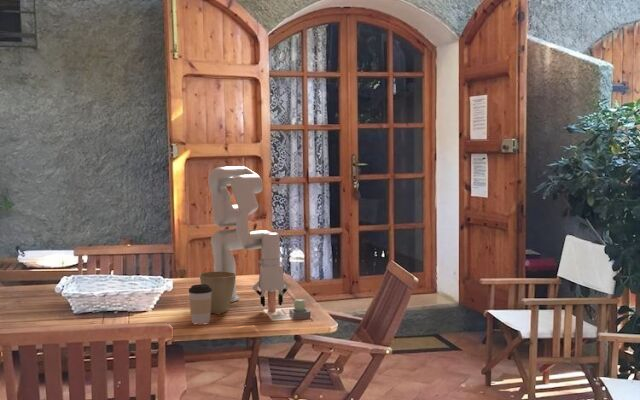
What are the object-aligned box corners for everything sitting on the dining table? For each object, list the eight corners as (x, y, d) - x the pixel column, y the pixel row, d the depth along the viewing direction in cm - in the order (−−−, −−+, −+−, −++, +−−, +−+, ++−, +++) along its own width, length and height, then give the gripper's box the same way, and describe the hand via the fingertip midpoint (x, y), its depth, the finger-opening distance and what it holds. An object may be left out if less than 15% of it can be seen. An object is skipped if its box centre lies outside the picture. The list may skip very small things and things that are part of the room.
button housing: (293, 318, 295) (293, 312, 295) (289, 315, 301) (289, 309, 301) (310, 317, 297) (310, 311, 296) (306, 313, 303) (306, 307, 303)
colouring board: (272, 322, 293) (272, 320, 293) (262, 311, 312) (262, 309, 312) (311, 319, 297) (311, 317, 297) (300, 308, 316) (300, 306, 316)
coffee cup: (190, 320, 297) (189, 283, 296) (213, 319, 298) (212, 282, 297) (188, 325, 288) (187, 287, 287) (212, 324, 289) (211, 286, 288)
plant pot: (207, 317, 301) (206, 278, 300) (195, 310, 314) (194, 273, 313) (242, 313, 308) (241, 275, 307) (229, 306, 321) (228, 270, 320)
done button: (295, 314, 296) (295, 301, 296) (293, 311, 300) (293, 299, 300) (306, 313, 297) (306, 301, 297) (303, 311, 302) (303, 298, 301)
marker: (268, 312, 307) (268, 285, 306) (267, 310, 310) (266, 284, 309) (276, 311, 308) (276, 285, 307) (274, 310, 311) (274, 284, 310)
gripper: (251, 264, 301) (252, 308, 303) (293, 262, 306) (294, 305, 307) (248, 262, 308) (249, 304, 310) (289, 259, 313) (290, 301, 314)
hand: (271, 304), depth 309 cm, fingers open, 6 cm apart
